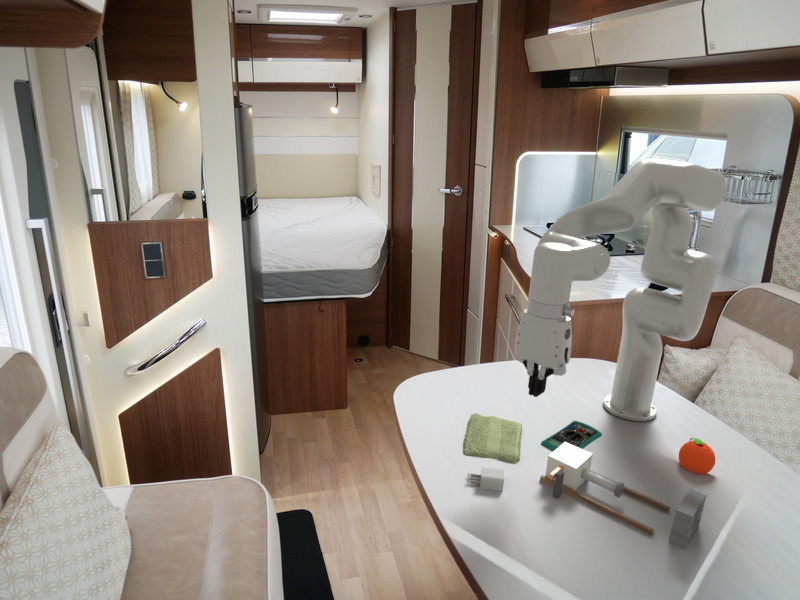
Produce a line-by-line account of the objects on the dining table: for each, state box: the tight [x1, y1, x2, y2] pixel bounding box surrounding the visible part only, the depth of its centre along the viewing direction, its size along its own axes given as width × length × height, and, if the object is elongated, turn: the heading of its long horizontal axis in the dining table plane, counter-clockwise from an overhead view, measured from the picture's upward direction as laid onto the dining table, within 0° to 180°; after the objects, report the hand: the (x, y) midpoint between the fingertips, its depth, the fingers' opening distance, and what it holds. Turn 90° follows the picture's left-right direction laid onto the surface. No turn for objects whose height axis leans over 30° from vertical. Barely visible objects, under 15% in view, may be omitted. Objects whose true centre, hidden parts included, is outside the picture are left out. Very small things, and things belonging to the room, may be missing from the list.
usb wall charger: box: [466, 466, 505, 492], centre depth 116 cm, size 4×7×4 cm, turn 81°
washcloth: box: [463, 412, 523, 464], centre depth 132 cm, size 13×18×3 cm
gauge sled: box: [544, 442, 625, 499], centre depth 114 cm, size 11×14×6 cm
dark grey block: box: [552, 470, 564, 499], centre depth 112 cm, size 2×1×5 cm, turn 138°
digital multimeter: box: [540, 420, 603, 452], centre depth 132 cm, size 7×15×3 cm, turn 135°
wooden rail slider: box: [539, 469, 708, 550], centre depth 111 cm, size 14×30×8 cm, turn 48°
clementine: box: [678, 437, 716, 475], centre depth 124 cm, size 8×7×7 cm
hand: (535, 393), depth 119 cm, fingers closed
